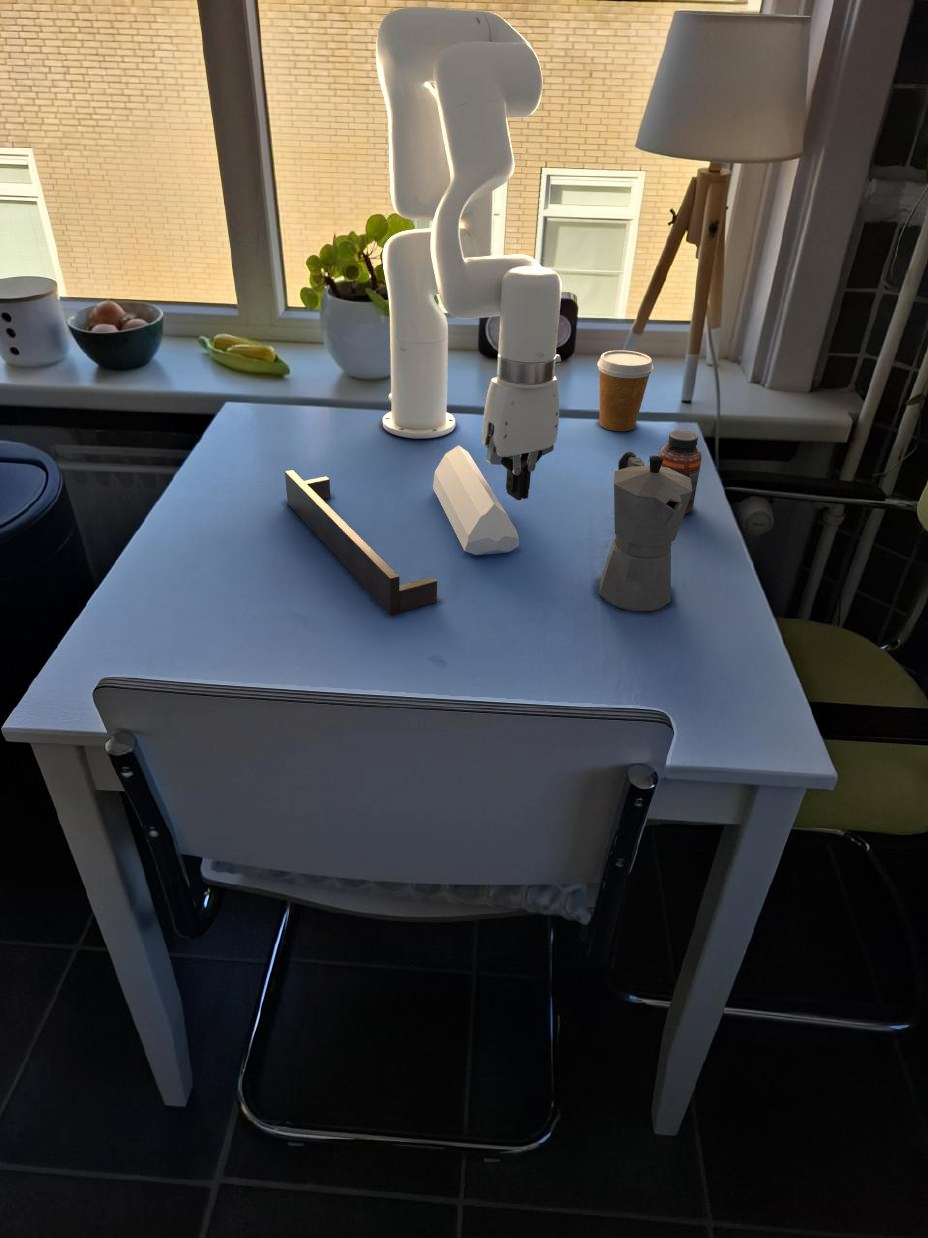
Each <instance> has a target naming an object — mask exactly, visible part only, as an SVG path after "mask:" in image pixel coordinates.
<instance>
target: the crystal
mask: <svg viewBox="0 0 928 1238" xmlns="http://www.w3.org/2000/svg"><path fill="white" fill-rule="evenodd" d="M433 475H434V476H433V483H432V489H433V492H434V493H435V495H436V497H437V499H438V501H439V503H440V505H441V507H442V509H443V511H444V514H445V515H446V517H447V519H448V521H449V524H450V525H451V527H452V530H453V531H454V533H455V535H456V537H457V539H458V541H459V544H460V545H461V548H462V549H463V552H466V553H469V554H471V555H474V556H484V555H485V556H487V555H497V554H506V553H510V552H511V551H513V550H515V549H517V548H518V547H519V546H520V542H519V541H520V540H519V538H520V537H519V534H518V531H517V529H516V528H515V526H514V524H513V522H512V520H511V519H510V517H509V515H508V513H507V512H506V511H505V509H504V507H503V505H502V504H501V502H500V501H499V499H498V498H497V495H496V494H495V493H494V491H493V490H492V488H491V487H490V484H489V483H488V482H487V480H486V478H485V477H484V475H483V473H482V472H481V471H480V469H479V467H478V466H477V464H476V462H475V461H474V459H473V457H472V456H471V454H470V453H469V451H468V450H466V449H465V448H463V447H462V446H460V445H459V444H458V445H456V446H455V447H454V448H452V449H451V450H449V451H447V452H446V453H445V454H444V455H443V457H442V459H441V460H440V462H439V463H438V465H437V466H436V469H435V470H434V474H433Z"/></svg>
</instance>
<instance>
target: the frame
mask: <svg viewBox="0 0 928 1238" xmlns="http://www.w3.org/2000/svg"><path fill="white" fill-rule="evenodd" d="M284 478H285V489H286V490H285V491H286V500H287V501H286V502H287V504H288V506H289V507H290V508H291V509H292V510H293V512H295V513H296V514H297V515H298V516H299V518H301V520H302V521H303V522H304V523H305V524H306V525H307V526H308V528H310V529H311V530H312V532H313V533H314V534H315V535H316V536H317V537H318V538H319V539H320V540H321V542H322V543H324V544H325V546H326V547H327V548H328V549H329V550H330V551H331V552H332V553H333V554H334V556H335V557H337V559H338V560H339V561H340V562H341V563H342V564H343V565H344V566H345V567H346V569H347V570H348V571H349V572H350V573H351V574H352V575H353V576H354V577H355V578H356V579H357V581H358V582H359V583H360V584H361V585H362V586H363V587H364V588H365V589H366V590H367V591H368V592H369V594H370V595H371V596H372V597H373V598H374V599H375V601H376V602H377V603H379V605H380V606H381V607H382V608H384V610H385V611H386V612H387V613H388V614H389V615H390V616H394V615H397V614H401V613H404V612H407V611H412V610H414V609H418V608H421V607H425V606H428V605H431V604H432V605H433V604H436V603H438V580H437V579H436V578H435V577H434V576H429V577H427V578H423V579H420V580H415V581H411V582H408V583H405V584H400V576H399V574H398V573H396V572H395V570H393V568H392V567H390V565H389V564H387V562H385V561H384V559H383V558H381V556H380V555H379V554H377V552H376V551H374V550H373V548H371V546H370V545H368V543H366V541H364V540H363V539H362V538H361V536H360V535H358V533H356V531H355V530H354V529H352V528H351V526H349V524H348V523H346V522H345V520H344V519H342V518H341V516H339V514H337V512H335V510H333V508H331V506H330V505H328V503H326V501H325V500H328V499H331V483H330V481H331V479H330V478H329V477H328V476H322V477H316V478H311V479H307V480H304V479H302V477H300V475H298V474H297V472H295V470H293V469H291V470H286V471H284Z"/></svg>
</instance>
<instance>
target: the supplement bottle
mask: <svg viewBox="0 0 928 1238" xmlns="http://www.w3.org/2000/svg"><path fill="white" fill-rule="evenodd" d="M698 441H699V435H698V434H697V433H696V432H693V431H691V430H686V429H677V430H676V429H674V430H672V431H670V432H669V434H668V440H667V444H665V445H663V446H662V447H661V448H660V451H659V455H658V456H660V457H662V458H663V463H662V465H661V467H668V468H670V469H672V470H674V471H676V472H678V473H680V474H682V475H685V476H687V477H689V478H691V485H692V494H691V497H690V500H689V503H688V505H687V508H686V511H685V514H684V515H686V514H688V513H690V512H691V511H692V510H693V508H694V503H695V498H696V493H697V487H698V486H697V485H698V483H699V482H698V481H699V476H700V470H701V464H702V459H703V457H702V456H703V455H702V452H701V450H700V449H699V448H698Z"/></svg>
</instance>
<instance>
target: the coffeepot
mask: <svg viewBox="0 0 928 1238" xmlns="http://www.w3.org/2000/svg"><path fill="white" fill-rule="evenodd" d="M662 463H663V458H662V457H660V456H659V455H654V454H653V455H650V456H649V465H647V464H646V465H645V461H644V460H643V459H642V458H641V457H640V456H639V457H638V456H637V455H636V453H635V452H632V451H626V452H625V453H624V454H623V455H622V456H621V457H620V458H619V460H618V467H617V470H614V475H613V505H614V506H613V508H614V509H613V511H614V512H613V515H614V539H613V540H612V544H611V546H610V549H609V553H608V555H607V558H606V561H605V564H604V568H603V570H602V573H601V576H600V580H599V595H600V596H601V597H602V598H603V600H605V601H606V602H608V603H609V604H611V605H613V606H614V607H617V608H619V609H622V610H626V611H630V612H631V611H632V612H639V613H640V612H643V613H645V612H652V611H656V610H660V609H661V608H664V607H665V606H667V604H669V603H671V601H672V599H671V598H672V594H671V593H672V583H671V582H672V580H671V579H672V543H673V542H674V541H676V538H677V536H678V533H679V530H680V527H681V525H682V522H683V520H684V517H685V515H686V514H685V511H686V508H687V505H688V503H689V500H690V497H691V494H692V485H691V478H689V477H687V476H685V475H682V474H680V473H678V472H676V471H674V470H672V469H670V468H668V467H661V465H662Z"/></svg>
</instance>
